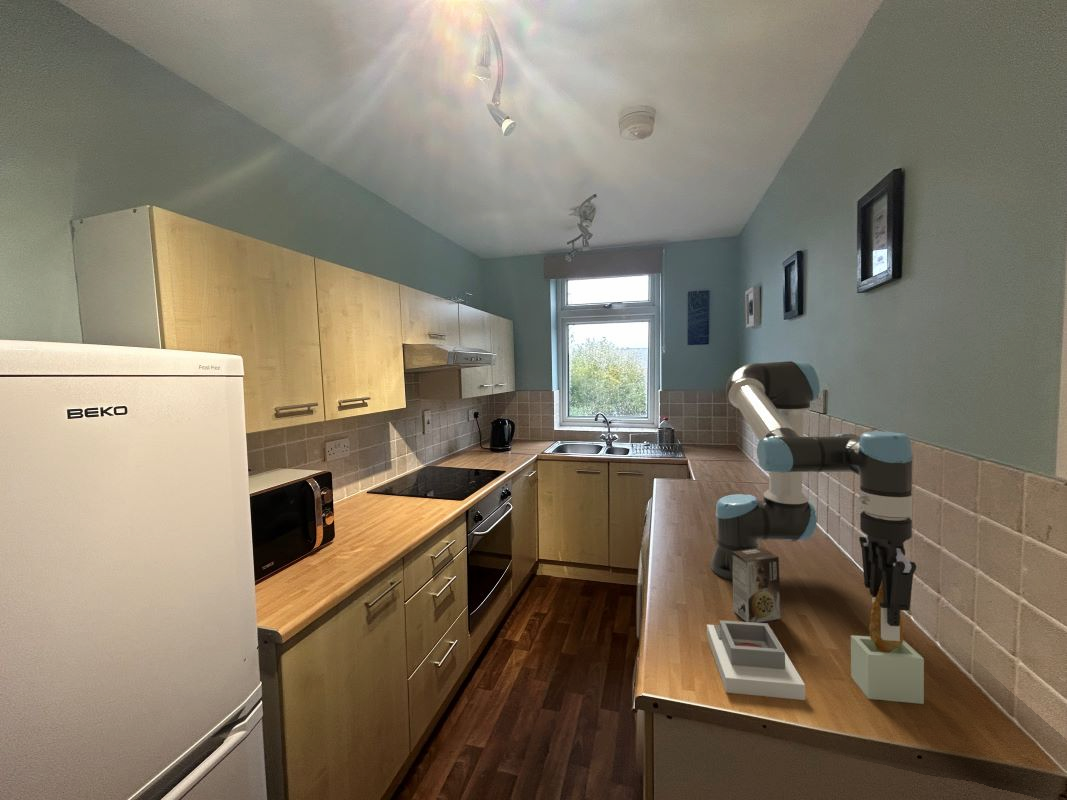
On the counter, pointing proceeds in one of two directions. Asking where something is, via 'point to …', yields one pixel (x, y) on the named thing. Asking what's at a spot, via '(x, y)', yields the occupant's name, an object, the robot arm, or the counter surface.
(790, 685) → the panel
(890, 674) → the box
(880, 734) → the counter surface
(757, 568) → the coffee box
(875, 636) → the stone tool
